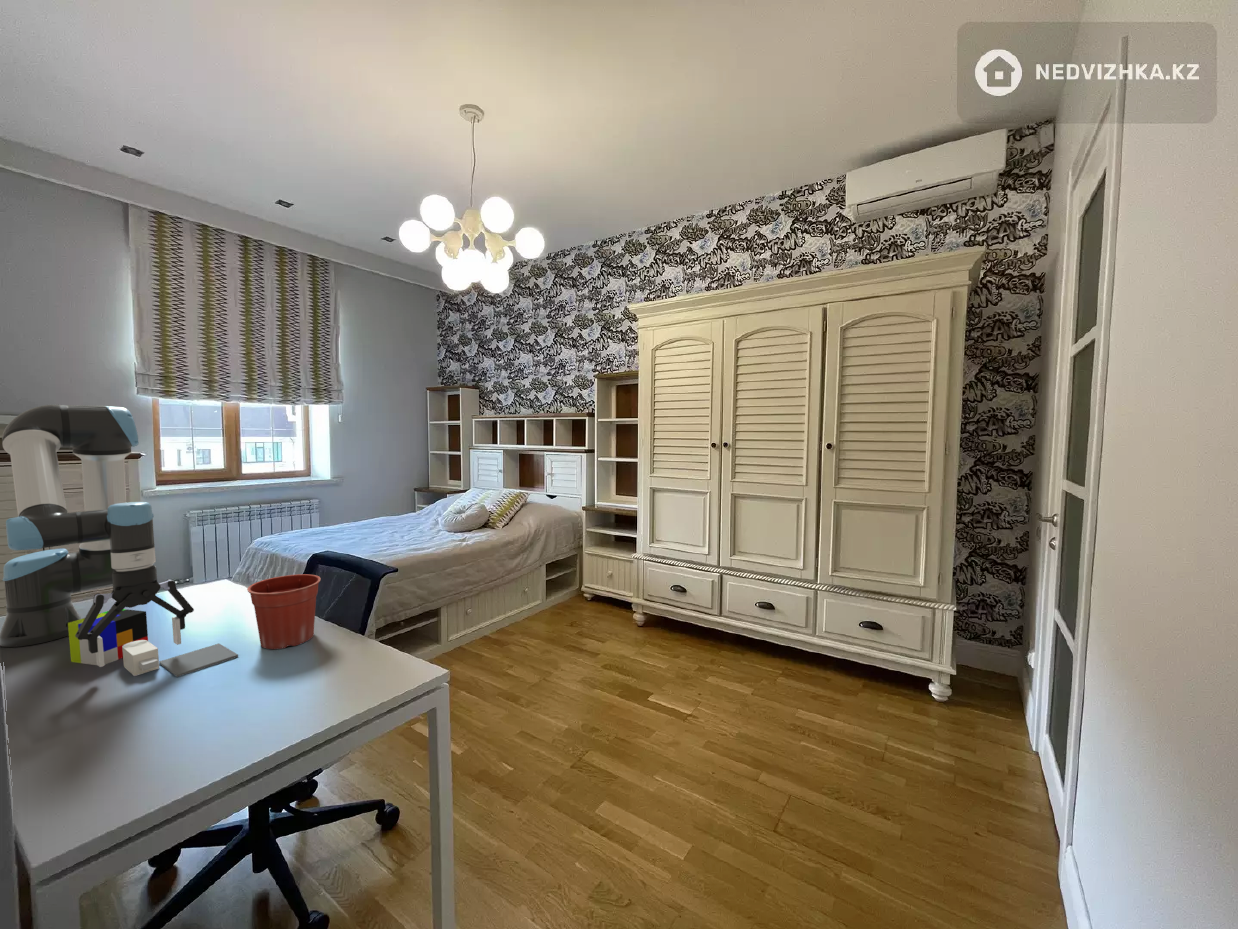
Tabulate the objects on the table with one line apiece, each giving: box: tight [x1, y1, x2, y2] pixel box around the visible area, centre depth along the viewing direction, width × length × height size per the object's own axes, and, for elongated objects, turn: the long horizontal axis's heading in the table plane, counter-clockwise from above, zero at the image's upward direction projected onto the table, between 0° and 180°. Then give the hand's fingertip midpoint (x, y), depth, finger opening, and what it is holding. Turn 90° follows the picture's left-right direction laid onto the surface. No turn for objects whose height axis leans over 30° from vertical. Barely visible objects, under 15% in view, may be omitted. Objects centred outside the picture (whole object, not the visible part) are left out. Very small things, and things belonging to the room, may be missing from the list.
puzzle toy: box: [68, 608, 149, 666], centre depth 124 cm, size 10×10×10 cm
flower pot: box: [246, 573, 321, 650], centre depth 133 cm, size 16×16×16 cm
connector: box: [122, 640, 160, 677], centre depth 117 cm, size 13×4×5 cm, turn 58°
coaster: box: [159, 643, 239, 678], centre depth 122 cm, size 12×12×1 cm
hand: (140, 653), depth 117 cm, fingers open, 13 cm apart
